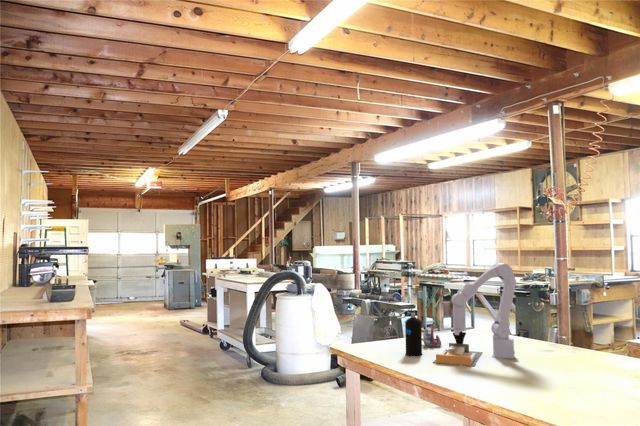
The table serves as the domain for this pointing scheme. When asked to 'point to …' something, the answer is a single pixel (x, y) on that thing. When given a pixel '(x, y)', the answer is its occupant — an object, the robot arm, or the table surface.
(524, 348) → the table surface
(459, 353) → the grey beige angular piece
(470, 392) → the table surface
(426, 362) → the table surface
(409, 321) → the aerosol can
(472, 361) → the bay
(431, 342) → the brake caliper
